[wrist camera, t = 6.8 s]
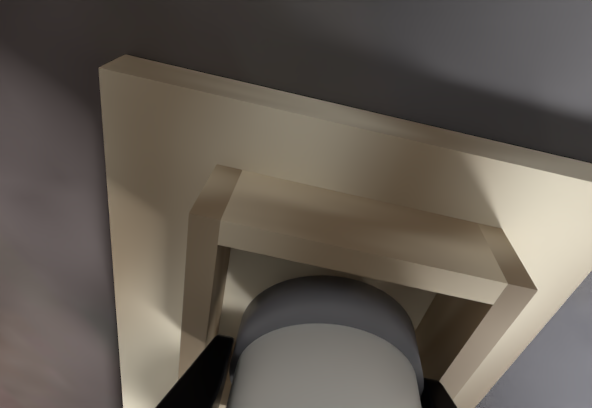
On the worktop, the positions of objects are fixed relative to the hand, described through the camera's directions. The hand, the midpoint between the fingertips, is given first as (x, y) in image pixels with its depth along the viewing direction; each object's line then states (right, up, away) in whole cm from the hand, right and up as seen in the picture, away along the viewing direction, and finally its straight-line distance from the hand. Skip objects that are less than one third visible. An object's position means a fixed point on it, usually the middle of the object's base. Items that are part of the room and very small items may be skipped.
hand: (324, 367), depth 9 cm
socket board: (-1, -2, +6) cm, 6 cm away
